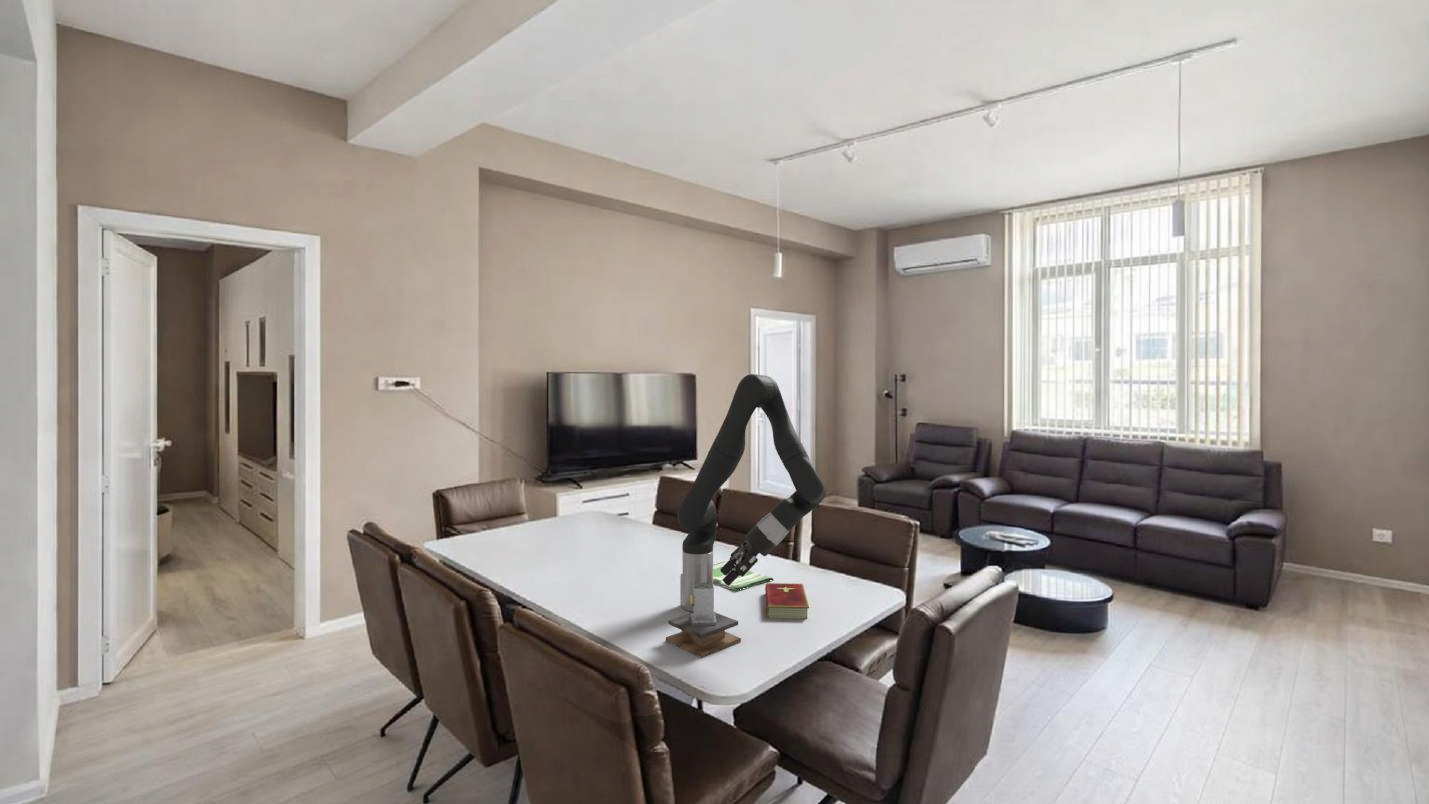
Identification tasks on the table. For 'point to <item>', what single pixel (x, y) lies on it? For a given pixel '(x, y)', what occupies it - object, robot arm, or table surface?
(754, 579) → the dish towel
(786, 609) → the hardcover book
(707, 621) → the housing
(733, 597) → the table surface
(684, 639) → the stand
